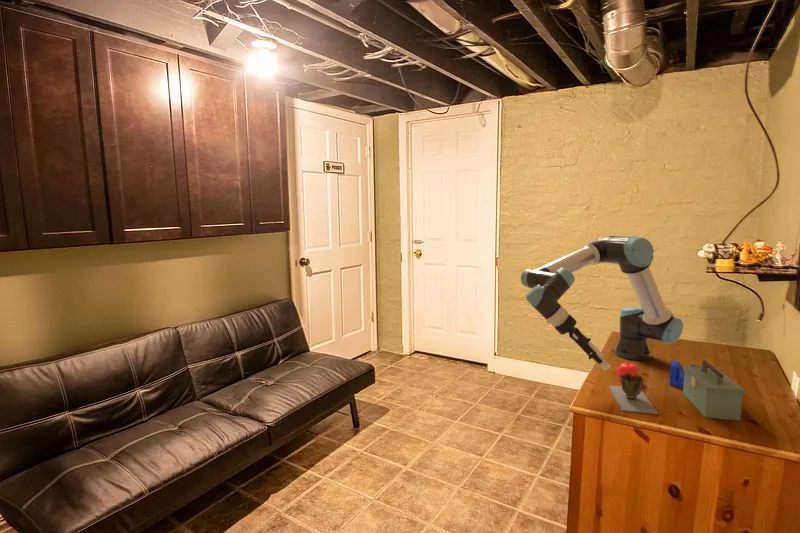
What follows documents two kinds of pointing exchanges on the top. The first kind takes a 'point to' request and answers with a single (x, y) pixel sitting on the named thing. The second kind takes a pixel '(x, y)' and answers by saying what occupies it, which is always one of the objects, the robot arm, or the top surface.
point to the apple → (627, 369)
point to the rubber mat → (632, 402)
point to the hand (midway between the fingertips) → (603, 362)
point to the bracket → (677, 375)
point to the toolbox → (712, 392)
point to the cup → (631, 385)
